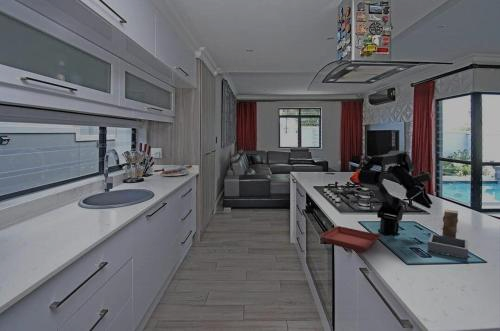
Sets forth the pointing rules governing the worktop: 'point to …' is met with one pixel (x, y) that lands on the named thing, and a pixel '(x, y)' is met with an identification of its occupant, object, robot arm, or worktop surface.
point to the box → (448, 245)
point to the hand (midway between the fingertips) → (430, 205)
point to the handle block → (450, 223)
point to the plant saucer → (350, 238)
